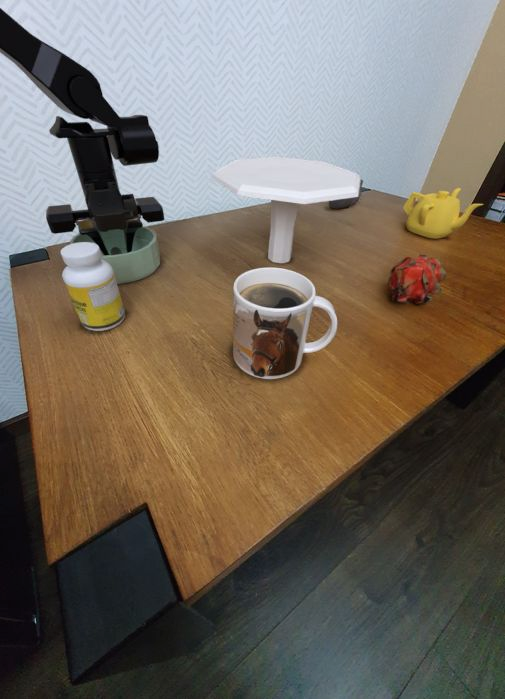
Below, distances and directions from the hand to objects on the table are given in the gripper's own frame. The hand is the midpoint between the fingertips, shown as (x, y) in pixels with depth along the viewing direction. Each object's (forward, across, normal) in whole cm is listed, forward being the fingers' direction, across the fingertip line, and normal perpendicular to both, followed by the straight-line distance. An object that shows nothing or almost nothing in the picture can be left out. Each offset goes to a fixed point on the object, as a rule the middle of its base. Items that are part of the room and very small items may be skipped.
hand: (119, 259), depth 60 cm
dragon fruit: (+2, +46, -32) cm, 55 cm away
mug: (+2, +16, -36) cm, 39 cm away
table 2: (+2, +32, -8) cm, 33 cm away
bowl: (+1, 0, 0) cm, 1 cm away
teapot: (+2, +78, -10) cm, 78 cm away
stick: (+1, 0, 0) cm, 1 cm away
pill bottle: (+2, -5, -18) cm, 18 cm away
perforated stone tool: (+2, +68, +15) cm, 69 cm away
